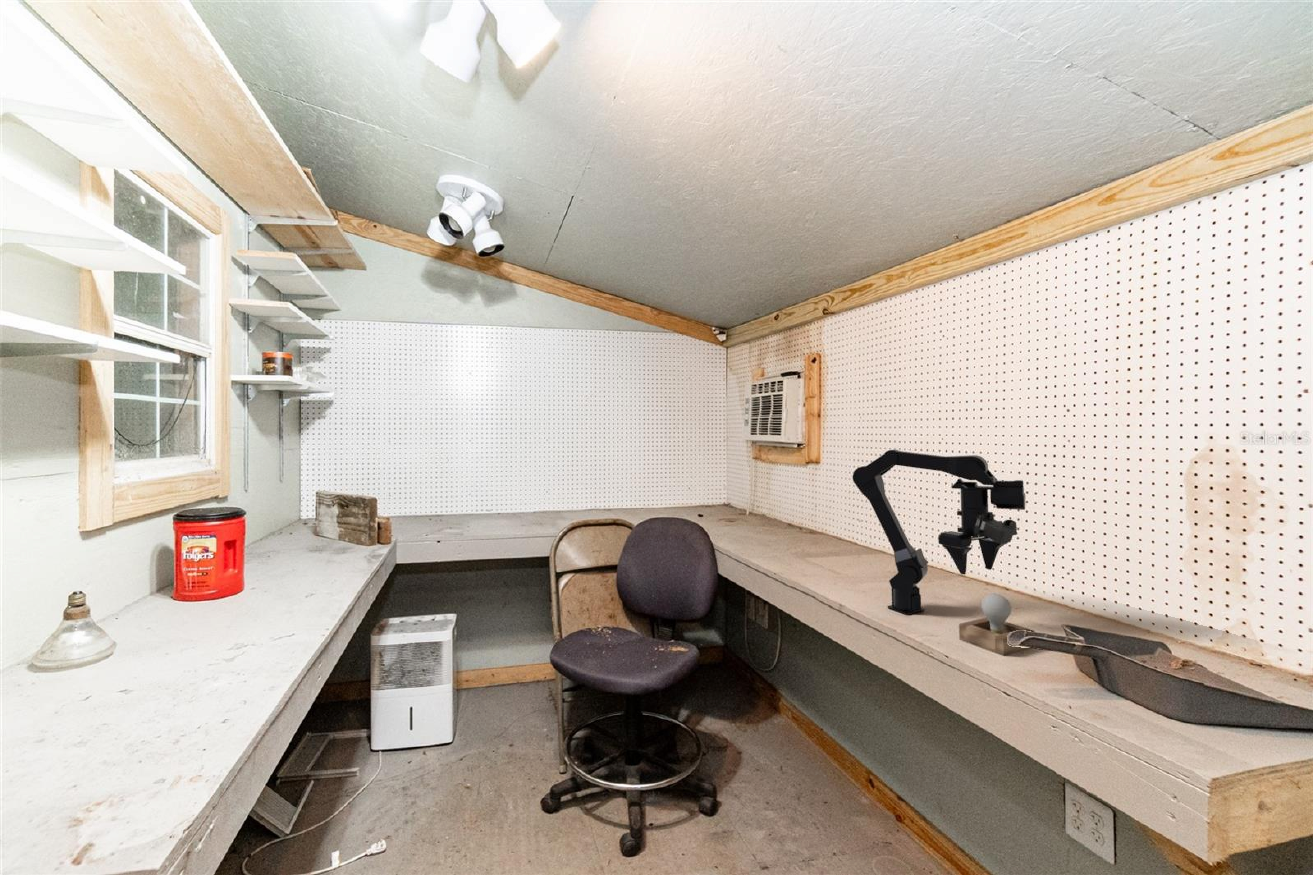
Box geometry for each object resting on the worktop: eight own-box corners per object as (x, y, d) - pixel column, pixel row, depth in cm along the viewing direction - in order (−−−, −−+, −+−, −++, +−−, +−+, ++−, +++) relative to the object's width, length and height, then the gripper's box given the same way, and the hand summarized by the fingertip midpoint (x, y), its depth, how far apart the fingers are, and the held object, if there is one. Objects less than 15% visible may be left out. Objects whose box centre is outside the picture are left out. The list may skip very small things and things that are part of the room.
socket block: (959, 639, 121) (959, 623, 121) (989, 631, 125) (989, 616, 125) (1003, 655, 112) (1003, 638, 112) (1034, 646, 116) (1034, 630, 116)
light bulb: (978, 640, 119) (978, 594, 119) (986, 633, 123) (985, 589, 123) (1007, 647, 115) (1007, 599, 115) (1014, 639, 119) (1013, 593, 119)
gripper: (979, 514, 121) (981, 585, 121) (1033, 508, 129) (1035, 574, 129) (935, 509, 131) (937, 573, 131) (988, 503, 139) (989, 564, 139)
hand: (976, 571), depth 132 cm, fingers open, 9 cm apart
